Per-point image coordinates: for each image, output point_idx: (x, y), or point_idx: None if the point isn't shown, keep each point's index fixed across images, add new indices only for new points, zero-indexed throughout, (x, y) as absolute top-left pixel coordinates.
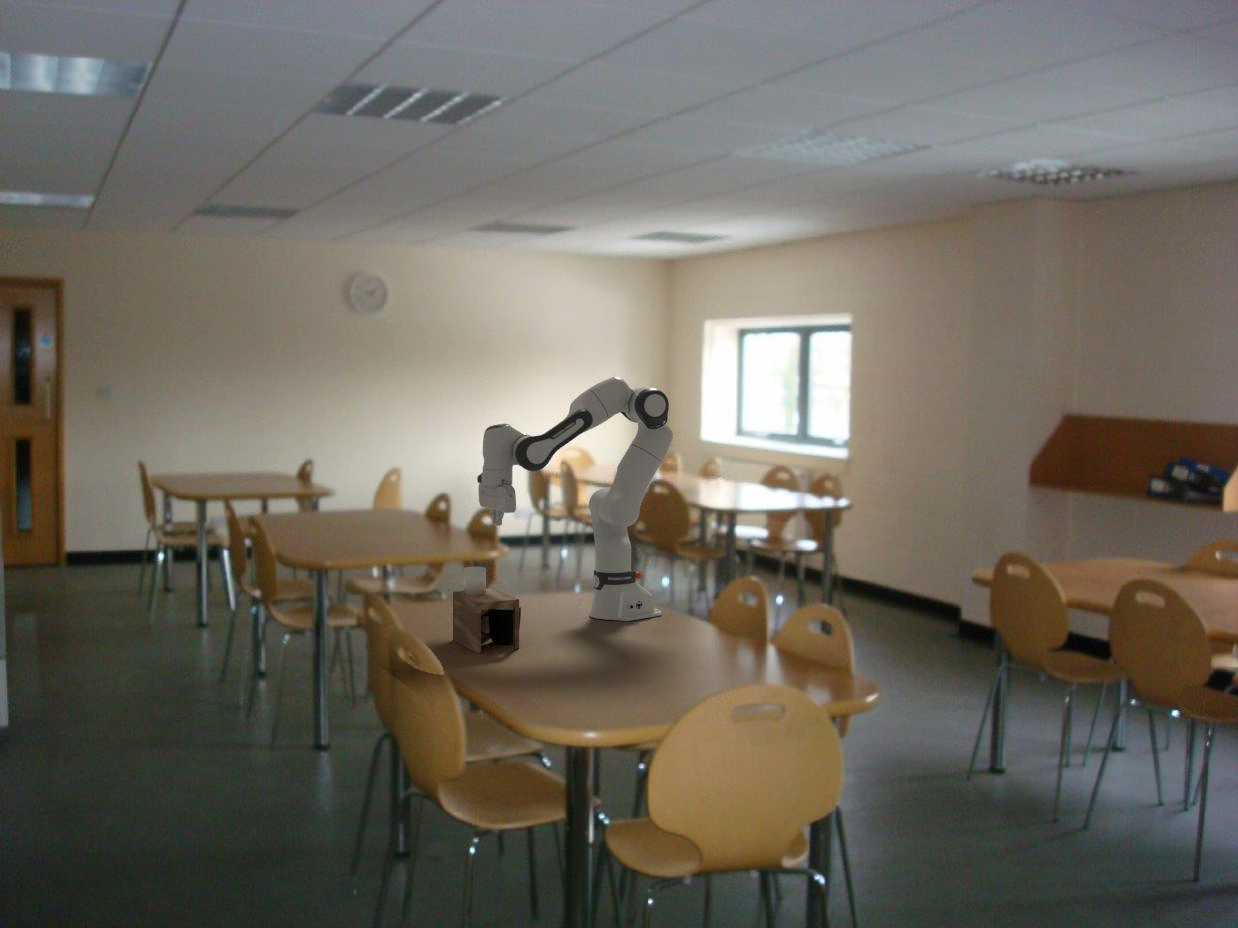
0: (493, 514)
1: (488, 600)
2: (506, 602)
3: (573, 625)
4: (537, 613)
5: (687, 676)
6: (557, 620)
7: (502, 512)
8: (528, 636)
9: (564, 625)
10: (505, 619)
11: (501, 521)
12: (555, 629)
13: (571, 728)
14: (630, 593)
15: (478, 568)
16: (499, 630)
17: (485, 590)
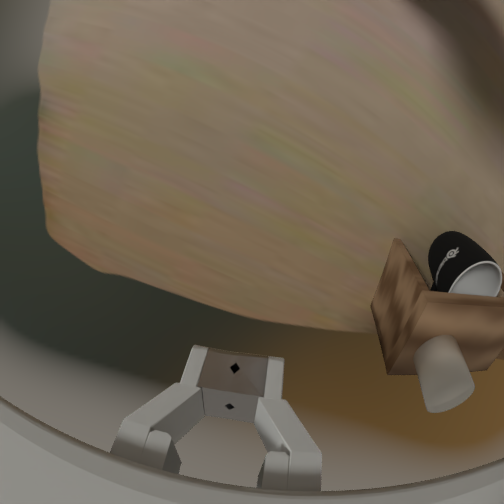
0: (173, 438)
1: (491, 352)
2: None
3: (416, 39)
4: (238, 25)
5: None
6: (347, 29)
7: (315, 474)
8: (444, 187)
9: (406, 54)
10: (483, 290)
11: (282, 384)
12: (429, 98)
13: None
14: None
15: (459, 393)
16: (465, 284)
17: (457, 344)
